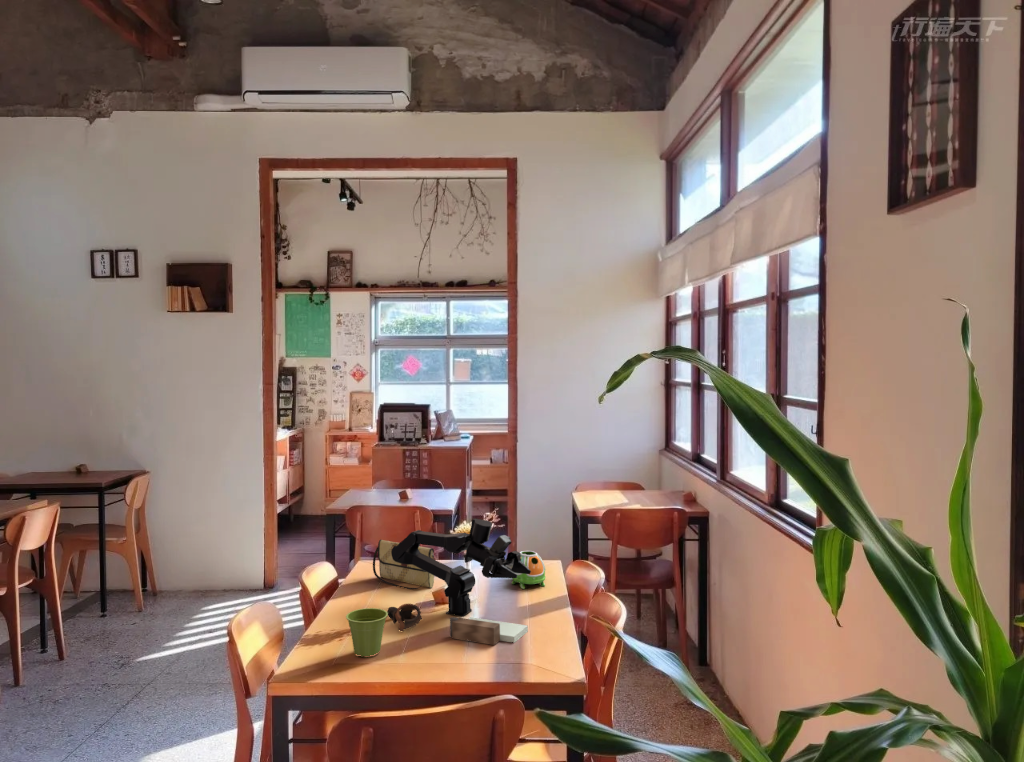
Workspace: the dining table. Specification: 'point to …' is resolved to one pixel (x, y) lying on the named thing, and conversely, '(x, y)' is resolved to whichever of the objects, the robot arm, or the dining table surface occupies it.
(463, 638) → the folding leg
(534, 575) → the turtle holder
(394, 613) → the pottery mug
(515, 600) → the dining table surface
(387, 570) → the clutch purse
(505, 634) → the pale green flat block
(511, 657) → the dining table surface
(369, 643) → the plant pot
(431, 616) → the dining table surface
